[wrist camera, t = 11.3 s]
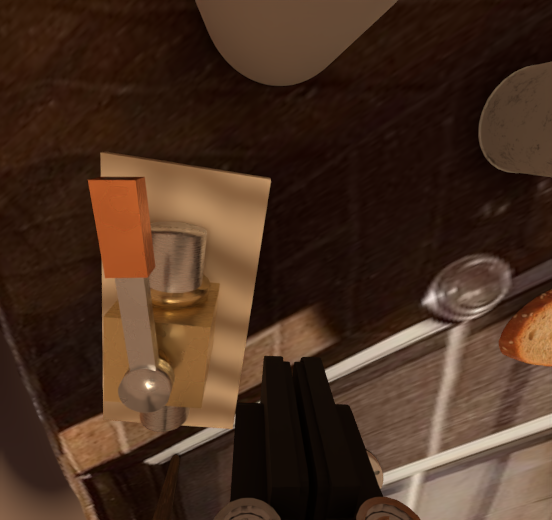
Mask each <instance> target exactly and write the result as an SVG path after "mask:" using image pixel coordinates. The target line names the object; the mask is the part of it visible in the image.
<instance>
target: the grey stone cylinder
mask: <svg viewBox="0 0 552 520" xmlns="http://www.w3.org/2000/svg"><path fill="white" fill-rule="evenodd" d="M478 138H479V144H480V148H481V150H482V152H483V155H484V156H485V158H486V159H487V160H488V161H489V163H490V164H492V165H493V166H495V167H496V168H497V169H500V170H502V171H505V172H512V173H525V174H532V175H540V176H547V177H552V62H548V63H544V64H538V65H532V66H527V67H525V68H522V69H520V70H518V71H515V72H514V73H512V74H511V75H510V76H508V77H507V78H505V79H504V80H503V81H502V82H501V83H500V84H499V85H498V86H497V87H496V88H495V89H494V91H493V92H492V94H491V95H490V96H489V98H488V99H487V101H486V104H485V106H484V108H483V110H482V113H481V117H480V121H479V129H478Z"/></svg>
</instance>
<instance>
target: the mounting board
mask: <svg viewBox="0 0 552 520" xmlns="http://www.w3.org/2000/svg"><path fill="white" fill-rule="evenodd" d="M101 177H145V183H146V191H147V200H148V208H149V216H150V224H151V223H154V222H163V221H173V222H183V223H189V224H193V225H197V226H200V227H202V228H204V229H205V230H206V231H207V238H206V248H205V258H204V269H203V275H205V276H206V277H207V278H208V279H209V281H210V282H212V283H220V289H219V297H218V306H217V315H216V323H215V332H214V340H213V349H212V354H211V360H210V365H209V371H208V376H207V381H206V387H205V392H204V397H203V403H202V408H190V412H189V416H188V418H187V420H186V421H185V422H184V423H183V424H182V425H185V426H199V427H213V428H228V429H232V428H233V422H234V415H235V409H236V403H237V396H238V390H239V383H240V377H241V370H242V364H243V357H244V351H245V344H246V338H247V332H248V325H249V319H250V312H251V306H252V299H253V293H254V286H255V280H256V273H257V267H258V260H259V254H260V248H261V241H262V235H263V228H264V222H265V215H266V209H267V202H268V196H269V189H270V183H271V179H270V178H268V177H262V176H256V175H249V174H243V173H237V172H231V171H224V170H218V169H212V168H206V167H199V166H193V165H187V164H181V163H174V162H168V161H162V160H156V159H149V158H143V157H137V156H131V155H124V154H118V153H112V152H101ZM117 300H118V295H117V289H116V283H115V278H105V274H104V269H103V263H102V331H103V317H104V315H105V314H106V313H107V312H108V310H109V309H110V308H111V307H112V306H113V304H114V303H115V302H116V301H117ZM103 420H113V421H128V422H141V421H140V418H139V412H136V411H134V410H131V409H129V408H128V407H126V406H125V405H124V404H123V403H122V402H110V401H104V340H103Z"/></svg>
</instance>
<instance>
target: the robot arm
mask: <svg viewBox="0 0 552 520" xmlns="http://www.w3.org/2000/svg"><path fill="white" fill-rule="evenodd" d="M382 484H383V473H382V469H381V467H380V464H379V462H378V460H377V459H376V458H375V457H374V455H372V454H371V453H370V452H368V451H366V449H365V446H364V443H363V441H362V438H361V435H360V432H359V430H358V427H357V424H356V421H355V419H354V416H353V413H352V411H351V408H350V407H349V406H348V405H342V404H335V402H334V399H333V396H332V393H331V390H330V386H329V383H328V380H327V377H326V373H325V370H324V367H323V364H322V361H321V358H318V357H302V358H301V361H300V362H294V368H293V377H292V373H291V367H290V362H283V357H281V356H264V362H263V375H262V388H261V400H260V403H237V404H236V419H235V435H234V451H233V467H232V483H231V498H230V503H229V504H227V505H226V506H225V507H223V508H222V509H221V510H220V511H219V513H218V514H217V515H216V517H215V518H214V520H420V518H419V517H418V515H416V514H415V513H414V512H413V511H412V510H411V509H410V508H409V507H408V506H406V505H404V504H403V503H401V502H399V501H397V500H395V499H391V498H388V497H383V495H382V493H381V490H380V489H381V487H382Z"/></svg>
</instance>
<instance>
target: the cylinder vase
mask: <svg viewBox="0 0 552 520" xmlns="http://www.w3.org/2000/svg"><path fill="white" fill-rule="evenodd" d="M397 1H398V0H195V2H196V4H197V6H198V9H199V11H200V13H201V16H202V18H203V21H204V23H205V25H206V28H207V30H208V33H209V35H210V37H211V39H212V41H213V43H214V45H215V46H216V48H217V49H218V51H219V52H220V54H221V55H222V56H223V58H224V59H225V60H226V61H227V62H228V63H229V64H230V65H231V66H232V67H233V68H234V69H235V70H237V71H238V72H239V73H241V74H242V75H244V76H246V77H247V78H249V79H251V80H254V81H256V82H259V83H262V84H266V85H272V86H288V85H294V84H298V83H301V82H304V81H306V80H308V79H310V78H312V77H314V76H315V75H317V74H318V73H320V72H321V71H323V70H324V69H325V68H326V67H327V66H328V65H329V64H330V63H331V62H333V61H334V60H335V59H336V58H337V57H338V56H339V55H340V54H341V53H342V52H343V51H344V50H345V49H346V48H348V47H349V46H350V45H351V44H352V43H353V42H354V41H355V40H356V39H357V38H358V37H359V36H360V35H361V34H363V33H364V32H365V31H366V30H367V29H368V28H369V27H370V26H371V25H372V24H373V23H374V22H375V21H376V20H378V19H379V18H380V17H381V16H382V15H383V14H384V13H385V12H386V11H387V10H388V9H389V8H390V7H392V6H393V5H394V4H395V3H396V2H397Z"/></svg>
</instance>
